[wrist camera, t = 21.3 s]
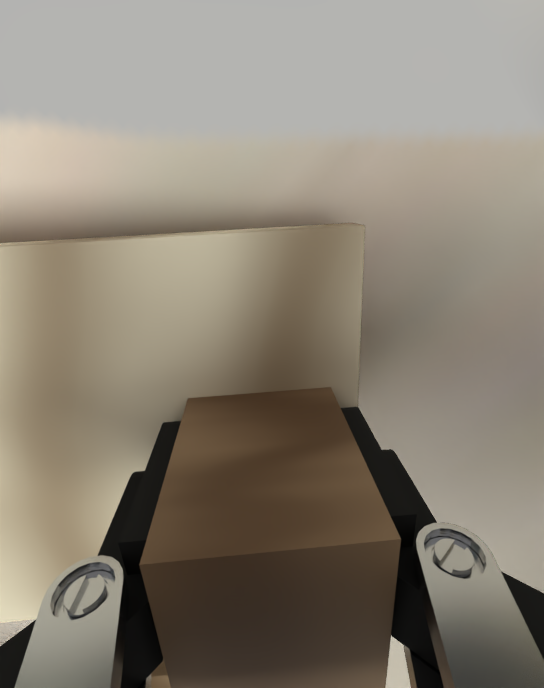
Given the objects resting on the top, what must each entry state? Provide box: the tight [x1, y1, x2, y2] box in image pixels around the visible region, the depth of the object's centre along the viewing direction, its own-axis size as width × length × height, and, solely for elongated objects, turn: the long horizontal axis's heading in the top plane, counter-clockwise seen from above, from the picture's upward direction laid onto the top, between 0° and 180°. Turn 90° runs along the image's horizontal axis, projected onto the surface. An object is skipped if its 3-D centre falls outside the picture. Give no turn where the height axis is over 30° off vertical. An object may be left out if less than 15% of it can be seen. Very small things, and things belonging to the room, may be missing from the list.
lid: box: [0, 223, 401, 688], centre depth 9 cm, size 17×13×6 cm
